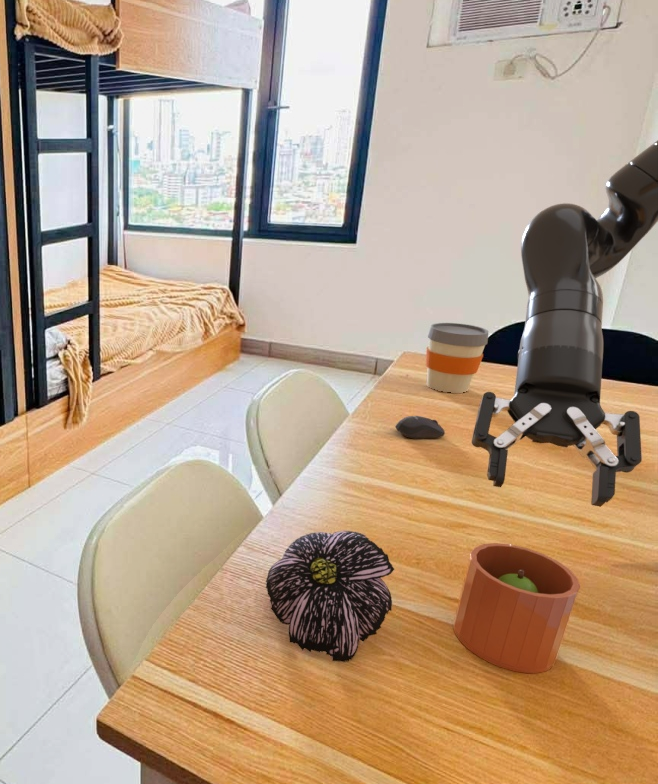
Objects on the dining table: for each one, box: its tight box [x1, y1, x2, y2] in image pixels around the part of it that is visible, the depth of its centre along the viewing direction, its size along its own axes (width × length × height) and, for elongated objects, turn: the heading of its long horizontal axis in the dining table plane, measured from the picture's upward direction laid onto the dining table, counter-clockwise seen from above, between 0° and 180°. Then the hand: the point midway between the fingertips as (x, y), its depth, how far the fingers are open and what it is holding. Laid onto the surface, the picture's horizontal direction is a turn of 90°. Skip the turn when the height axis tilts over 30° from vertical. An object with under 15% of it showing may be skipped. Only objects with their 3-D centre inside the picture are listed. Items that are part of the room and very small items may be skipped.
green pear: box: [498, 570, 538, 593], centre depth 71 cm, size 6×6×9 cm
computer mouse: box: [394, 415, 446, 440], centre depth 128 cm, size 6×9×4 cm, turn 94°
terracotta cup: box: [452, 542, 581, 674], centre depth 71 cm, size 10×10×10 cm
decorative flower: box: [265, 530, 395, 663], centre depth 75 cm, size 15×12×15 cm
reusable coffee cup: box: [425, 322, 489, 394], centre depth 154 cm, size 13×13×15 cm
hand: (547, 494), depth 65 cm, fingers open, 8 cm apart
